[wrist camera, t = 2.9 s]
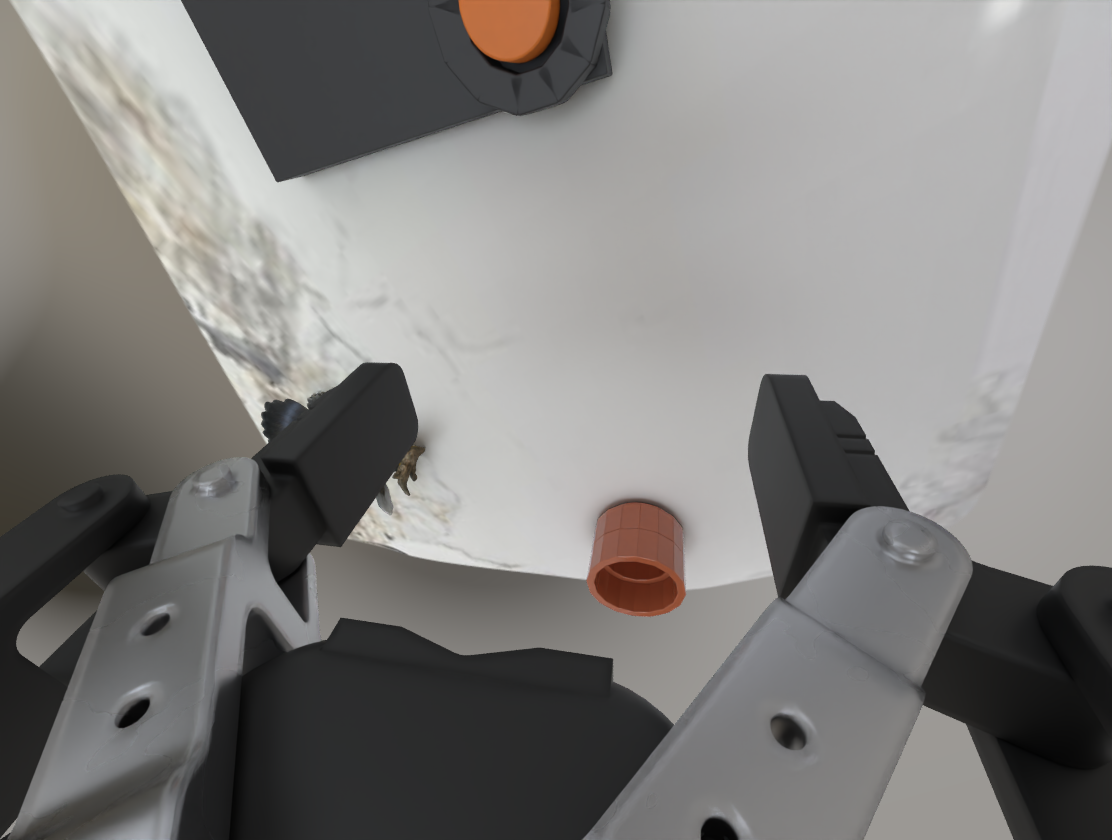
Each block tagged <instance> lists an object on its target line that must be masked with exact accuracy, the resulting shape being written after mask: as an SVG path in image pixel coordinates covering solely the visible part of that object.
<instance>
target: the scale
mask: <svg viewBox="0 0 1112 840" xmlns="http://www.w3.org/2000/svg"><path fill="white" fill-rule="evenodd" d="M181 1H182V3H183V5H184V7H185V9H186V11H187V13H188V14H189V16H190V18H191V20H192V22H193V24H194V26H195V28H196V30H197V32H198V33H199V35H200V37H201V39H202V41H203V43H204V45H205V47H206V49H207V51H208V52H209V54H210V56H211V58H212V60H213V62H214V64H215V66H216V68H217V70H218V71H219V73H220V75H221V77H222V79H223V81H224V83H225V85H226V87H227V89H228V90H229V92H230V94H231V96H232V98H233V100H234V102H235V104H236V106H237V108H238V109H239V111H240V113H241V115H242V117H243V119H244V121H245V123H246V125H247V127H248V128H249V130H250V132H251V134H252V136H253V138H254V140H255V142H256V144H257V146H258V147H259V149H260V151H261V153H262V155H263V157H264V159H265V161H266V163H267V165H268V166H269V168H270V170H271V172H272V174H273V176H274V178H275V180H276V181H277V182H281V181H285V180H289V179H293V178H297V177H301V176H305V175H308V174H311V173H314V172H317V171H320V170H323V169H326V168H329V167H332V166H335V165H338V164H341V163H344V162H347V161H351V160H354V159H357V158H360V157H363V156H366V155H369V154H372V153H375V152H378V151H381V150H384V149H387V148H390V147H393V146H396V145H400V144H403V143H406V142H409V141H412V140H415V139H418V138H421V137H424V136H427V135H430V134H433V133H436V132H439V131H442V130H445V129H448V128H452V127H455V126H458V125H461V124H464V123H467V122H470V121H473V120H476V119H479V118H482V117H485V116H488V115H491V114H494V113H497V112H501V111H504V112H507V113H510V114H513V115H516V116H517V115H519V116H521V115H527V114H531V113H534V112H537V111H540V110H544V109H547V108H550V107H553V106H556V105H559V104H562V103H565V101H568V99H569V98H570V97H571V96H572V95H573V93H574V92H575V91H576V90H577V89H578V87H579V86H580V85H583V84H586V83H589V82H592V81H595V80H598V79H602V78H605V77H608V76H611V75H612V67H611V61H610V54H609V48H608V41H607V35H606V27H607V24H608V20H609V16H610V9H611V6H610V0H560V14H559V21H558V25H557V29H556V31H555V34H554V36H553V38H552V40H551V42H550V44H549V45H548V47H547V48H546V49H545V50H544V51H543V52H542V53H541V54H540V55H539V56H538V57H536V58H535V59H533V60H531V61H528V62H525V63H510V62H504V61H499V60H495V59H493V58H491V57H489V56H487V55H486V54H484V53H483V52H482V51H481V50H480V49H479V48H478V47H477V46H476V45H475V44H474V42H473V41H472V40H471V38H470V36H469V35H468V33H467V31H466V29H465V26H464V24H463V21H462V18H461V13H460V8H459V0H181Z"/></svg>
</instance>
